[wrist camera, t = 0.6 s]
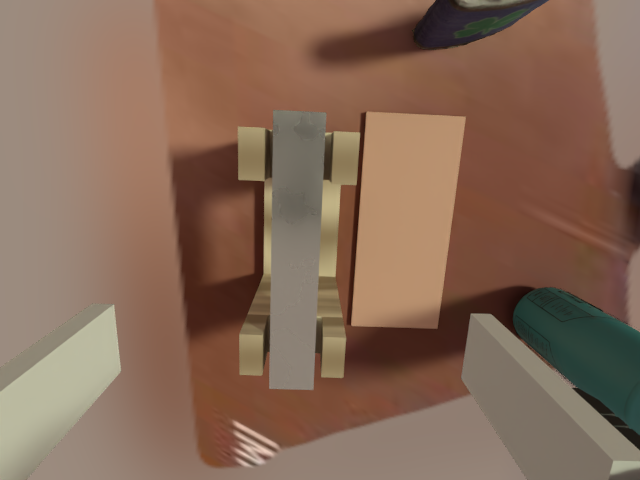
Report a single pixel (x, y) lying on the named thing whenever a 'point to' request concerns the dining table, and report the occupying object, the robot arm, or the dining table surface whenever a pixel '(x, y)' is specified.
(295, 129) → the rail
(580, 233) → the dining table surface
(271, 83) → the dining table surface
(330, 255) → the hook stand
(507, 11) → the flask
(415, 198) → the mat
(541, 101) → the dining table surface
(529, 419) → the robot arm
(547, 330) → the beverage bottle
